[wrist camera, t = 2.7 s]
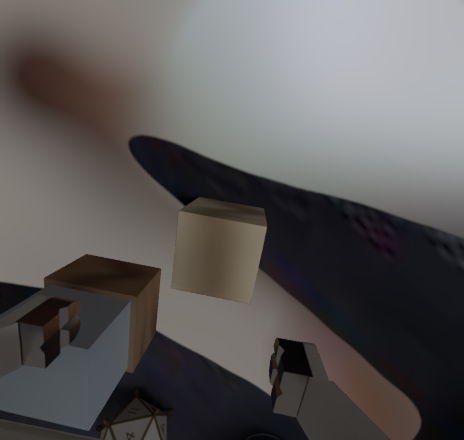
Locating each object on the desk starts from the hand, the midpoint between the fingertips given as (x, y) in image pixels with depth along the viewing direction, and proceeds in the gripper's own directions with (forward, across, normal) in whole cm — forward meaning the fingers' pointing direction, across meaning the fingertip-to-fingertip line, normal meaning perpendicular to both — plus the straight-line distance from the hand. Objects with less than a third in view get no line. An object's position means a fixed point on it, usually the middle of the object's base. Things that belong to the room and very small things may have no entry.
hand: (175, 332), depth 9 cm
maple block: (+13, -1, 0) cm, 13 cm away
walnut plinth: (+13, +9, +9) cm, 18 cm away
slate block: (+8, +9, +9) cm, 15 cm away
